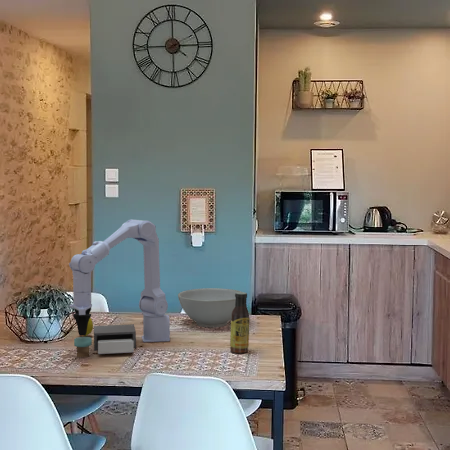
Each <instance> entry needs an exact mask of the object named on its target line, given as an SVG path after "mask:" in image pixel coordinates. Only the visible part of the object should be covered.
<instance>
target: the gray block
mask: <svg viewBox="0 0 450 450" xmlns="http://www.w3.org/2000/svg"><path fill="white" fill-rule="evenodd" d="M114 339H132V341H134V349H135V350H136V349H137V331H136V328H135V324H132V323H131V324H110V325H109V324H108V325H107V324H106V325H93V351H97V352H98V340H114Z"/></svg>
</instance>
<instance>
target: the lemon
mask: <svg viewBox="0 0 450 450" xmlns="http://www.w3.org/2000/svg"><path fill="white" fill-rule="evenodd" d="M93 331H94V323H93V319H92V318H91V317H90V319H89V322H88V326H87V332H86V335H83V337H88V335H90V334H92V332H93Z"/></svg>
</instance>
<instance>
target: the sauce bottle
mask: <svg viewBox="0 0 450 450" xmlns="http://www.w3.org/2000/svg"><path fill="white" fill-rule="evenodd" d="M235 297H236V301H235V308H234V309H233V311H232V315H231V316H232V318H231V320H230V338H229V339H230V340H229V346H230V347H229V349H230V352H232V353H234V354H244V353H247V352H248V351H249V345H250V343H249V342H250V320H251V319H250V313H249V310H248V306H247V305H248V304H247V298H248V293H247V292H245V291H244V292H243V291H241V292H236V293H235Z"/></svg>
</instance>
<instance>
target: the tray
mask: <svg viewBox="0 0 450 450" xmlns="http://www.w3.org/2000/svg"><path fill="white" fill-rule="evenodd" d="M123 353H126V354H127V353H134V341H132V339H114V340H98V351H97V354H98V355H105V354H123Z"/></svg>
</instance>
